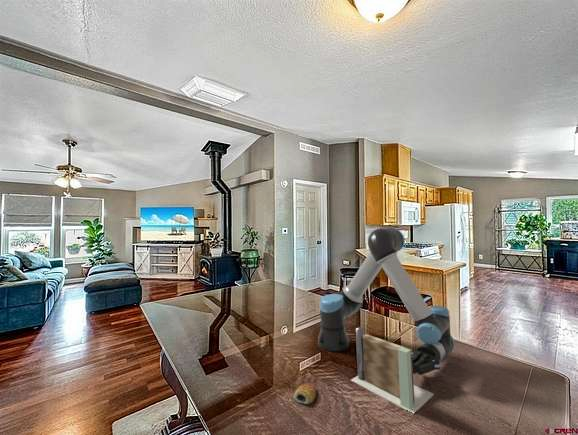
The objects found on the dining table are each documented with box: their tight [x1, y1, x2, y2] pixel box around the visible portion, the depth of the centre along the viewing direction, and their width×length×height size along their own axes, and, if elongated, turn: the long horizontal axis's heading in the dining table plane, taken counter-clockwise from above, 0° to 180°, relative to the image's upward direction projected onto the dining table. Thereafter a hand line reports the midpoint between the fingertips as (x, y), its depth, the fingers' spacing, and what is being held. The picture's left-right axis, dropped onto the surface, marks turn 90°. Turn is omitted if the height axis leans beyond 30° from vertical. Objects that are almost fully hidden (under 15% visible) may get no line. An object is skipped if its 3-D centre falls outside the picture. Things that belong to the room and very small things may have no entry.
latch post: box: [398, 346, 413, 410], centre depth 85 cm, size 3×2×18 cm
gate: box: [363, 333, 415, 403], centre depth 93 cm, size 18×2×17 cm, turn 38°
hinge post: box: [355, 326, 365, 380], centre depth 101 cm, size 3×3×19 cm
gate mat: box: [350, 375, 435, 415], centre depth 95 cm, size 24×14×1 cm, turn 39°
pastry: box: [292, 382, 317, 405], centre depth 92 cm, size 9×7×4 cm
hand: (399, 375), depth 90 cm, fingers closed
